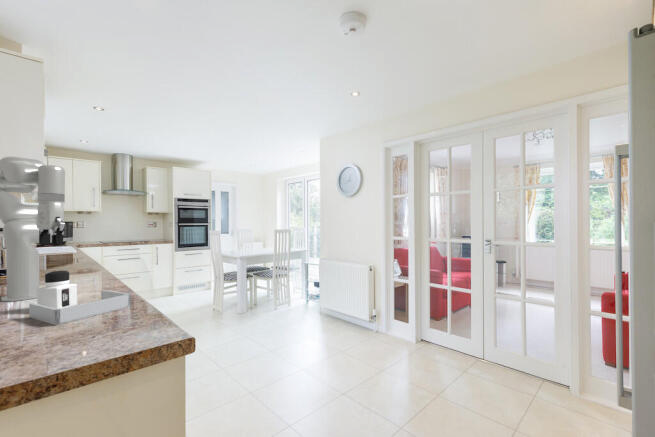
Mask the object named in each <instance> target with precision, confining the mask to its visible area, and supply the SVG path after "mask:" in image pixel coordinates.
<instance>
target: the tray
mask: <svg viewBox="0 0 655 437" xmlns="http://www.w3.org/2000/svg"><path fill="white" fill-rule="evenodd" d="M100 293H101V296H100V297H101V299H99V300H95V301H89V302H85V303H80V304H77V305H75V306H70V307H65V308H61V309H57V308H52V307H48V306H44V305H40V304H37V303H35V302H32V303H29V305H28V306H29V307H28V308H29V309H28V311H29V315H28V316H29V317H28V318H29V319H33V320H35V321H39V322H43V323H47V324H49V325H53V326H59V325H63V324H64V325H65V324H67V323H71V322H76V321H80V320H85V319H87V318H92V317H95V316H99V315H104V314H107V313H111V312H115V311H119V310H123V309H127V308H130V307H132V294H131V293H126V292H120V291H114V290H109V289H108V290H107V289H101V292H100Z"/></svg>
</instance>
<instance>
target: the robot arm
mask: <svg viewBox="0 0 655 437" xmlns="http://www.w3.org/2000/svg"><path fill="white" fill-rule="evenodd" d="M36 189H37V203H38V204H24V203H22V202H21V200H20V199H19V198H18V197H17V196H15V194H13V193H18V194H19V193H21V194H22V193H23V194H29V193H32V192H34V191H35V190H36ZM65 189H66V171H65V168H64V167H62V166H59V165H51V164H44V163H43V161H40V160H38V159H35V158H33V159H32V158H26V157H18V156H5V157H2V158H0V221H1V222H2V224H4V225H3V227H2V234H3V235H2V236H3V238H4V243H5V251H6V256H5V257H6V294H5V295H4V296H1V297H0V301H1V302H17V301H27V300H33V299H37V289H38V288H40V252H39V251H38V248H36V247H35V246H34V245H33V244H35V243H38V244H39V245H50V244H51V246H53V247H59V246H61V247H62V246H63V245H64V234H65V233H64V231H65V225H66V223H65V211H64V210H65V208H64V204H65V202H66V196H65V195H66V194H65V193H66V190H65Z"/></svg>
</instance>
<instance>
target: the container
mask: <svg viewBox="0 0 655 437" xmlns="http://www.w3.org/2000/svg"><path fill="white" fill-rule="evenodd" d="M44 285H45V286H41V287H39V288H38V289H37V298H36V300H37V301H36V302H37V303H36V304H40V305H44V306H48V307H52V308H57V309H61V308H65V307H70V306H75V305H78V288H77V287H78V284H77V283H70V271H68V270H54V271H53V270H52V271H48V272H45V274H44Z"/></svg>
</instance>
